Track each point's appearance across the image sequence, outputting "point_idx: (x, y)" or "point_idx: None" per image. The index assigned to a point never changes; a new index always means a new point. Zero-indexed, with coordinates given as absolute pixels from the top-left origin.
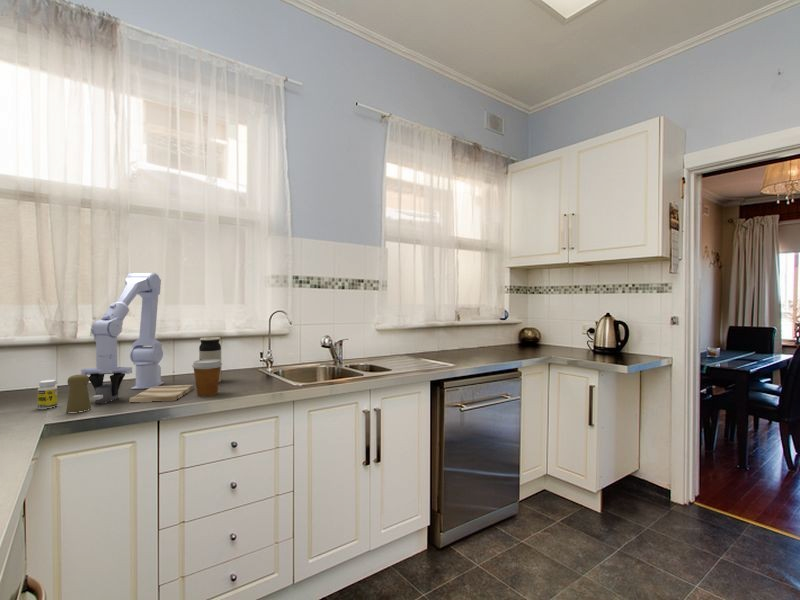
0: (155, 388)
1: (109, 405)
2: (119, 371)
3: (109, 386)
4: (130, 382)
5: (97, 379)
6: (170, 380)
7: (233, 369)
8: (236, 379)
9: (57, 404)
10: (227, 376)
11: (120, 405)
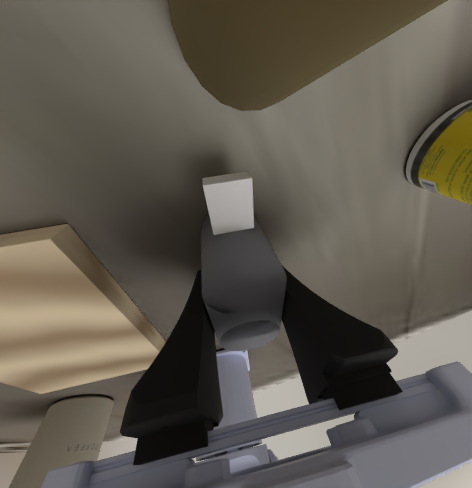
0: (133, 355)
1: (143, 174)
2: (162, 477)
3: (218, 307)
4: (282, 366)
5: (312, 344)
6: None
7: None
8: None
9: (411, 172)
10: None
11: (62, 170)
